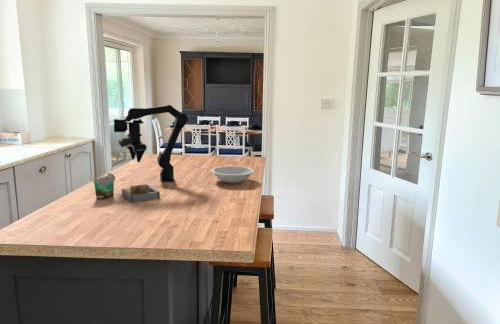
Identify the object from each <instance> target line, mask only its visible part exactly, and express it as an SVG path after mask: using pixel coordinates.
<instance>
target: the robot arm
mask: <svg viewBox="0 0 500 324" xmlns="http://www.w3.org/2000/svg"><path fill="white" fill-rule="evenodd" d="M165 113H166V114H167V113H169V114H170V115H171V116H173V117H174V123H173V127H172V128H173V129H172V130H171V133H170V135H169V137H168V140H167V143H166V144H165V146H164V149H163V150H162V152H161V151H159V152H158V156H157V157H156V159H157V161H156V162H157V164H158V165H159V167H160V168H161V169H160V172H159V177H160V179H159V180H160V181H162V182H164V183H167V182H174V181H176V179H175V175H174V174H175V173H174V166H173V165H172V163H170V162H171V158H172V153H173V150H174V148H175V145H176V142H177V140H178V137H179V136H180V133H181V131H182V130H183V129H184V127H185V126H186V124H187V123H188V120H189V117H188V115H187V113H184V112H180V111H179V110H178V109H176V108H174V106H172V104H166V105H160V106H153V107H152V106H151V107H147V108H146V107H145V108H142V107H130V108H129V109H128V110H127V115H126V117H125V118H124V119H117V118H116V119H115V118H114V119H113V132H114V133H126V131H128V133H127V136H125V137H122V138H121V139H118V140H117V142H118V145H119V146H120V147H121V148H124V147H125V148H126V149H127V150H128V151H129V155H130V157H131V160H135V157H136V162H137V163H141V160H142V158H143V156H144V153H145V152H146V150H148V149H147V145H146V144H145V143H143V142H142V141H141V140H142V139H141V137H142V133H141V124H144V121H143V120H142V118H143V117H144V118H145V117H146V116H151V115H159V114H165Z"/></svg>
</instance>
